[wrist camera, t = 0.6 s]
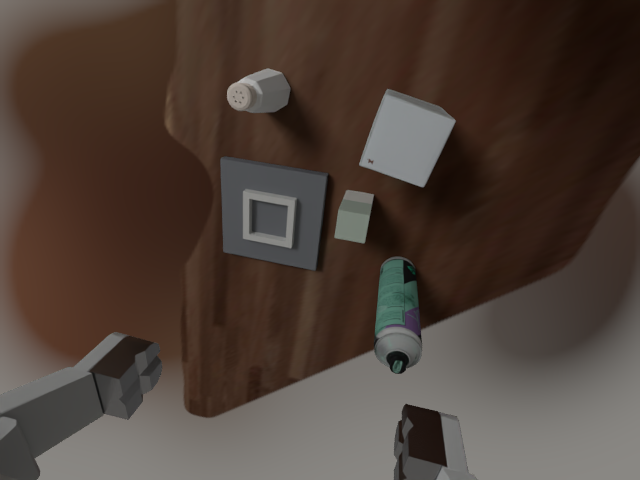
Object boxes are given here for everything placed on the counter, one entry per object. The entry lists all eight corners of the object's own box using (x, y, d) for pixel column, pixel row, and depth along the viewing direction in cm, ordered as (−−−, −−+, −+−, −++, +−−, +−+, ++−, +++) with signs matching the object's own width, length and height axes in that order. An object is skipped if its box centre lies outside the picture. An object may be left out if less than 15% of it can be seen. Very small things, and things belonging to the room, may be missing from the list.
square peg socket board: (225, 156, 51) (216, 160, 49) (328, 173, 49) (324, 178, 47) (227, 247, 59) (220, 255, 57) (317, 266, 57) (313, 274, 55)
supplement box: (417, 161, 46) (423, 191, 35) (366, 142, 46) (356, 166, 35) (443, 106, 43) (458, 120, 32) (387, 86, 43) (383, 92, 32)
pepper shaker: (276, 120, 48) (246, 134, 38) (245, 93, 47) (206, 101, 37) (299, 87, 45) (272, 93, 35) (266, 58, 44) (230, 56, 35)
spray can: (385, 288, 56) (380, 388, 39) (376, 260, 54) (365, 353, 37) (419, 282, 54) (429, 384, 37) (410, 252, 52) (416, 346, 35)
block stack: (346, 189, 50) (338, 209, 43) (374, 194, 49) (369, 215, 42) (343, 214, 52) (334, 237, 45) (369, 219, 51) (364, 243, 44)
